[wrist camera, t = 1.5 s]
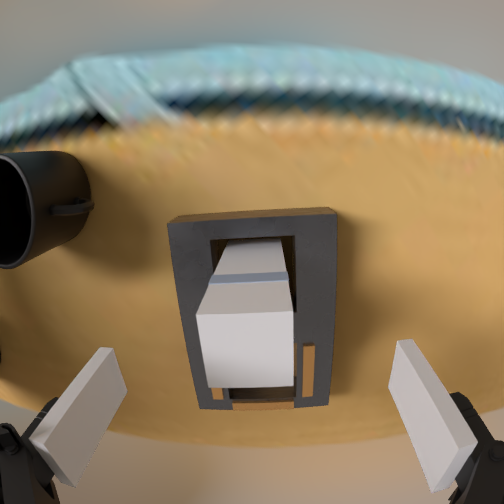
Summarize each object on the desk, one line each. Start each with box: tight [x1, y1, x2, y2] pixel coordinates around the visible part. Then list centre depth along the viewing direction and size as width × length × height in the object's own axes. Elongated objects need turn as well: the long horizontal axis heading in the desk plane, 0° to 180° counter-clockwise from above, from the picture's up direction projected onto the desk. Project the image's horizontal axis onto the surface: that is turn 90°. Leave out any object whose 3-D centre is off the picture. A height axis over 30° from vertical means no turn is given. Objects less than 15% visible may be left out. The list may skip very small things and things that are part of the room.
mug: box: [0, 151, 94, 269], centre depth 23 cm, size 9×12×9 cm
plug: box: [196, 238, 294, 388], centre depth 22 cm, size 5×5×14 cm
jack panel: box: [167, 207, 337, 410], centre depth 28 cm, size 13×19×4 cm
